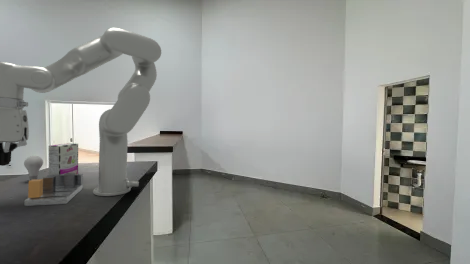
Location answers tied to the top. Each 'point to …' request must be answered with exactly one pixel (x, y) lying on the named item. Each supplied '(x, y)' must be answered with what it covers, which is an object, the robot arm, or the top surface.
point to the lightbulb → (33, 166)
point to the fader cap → (35, 188)
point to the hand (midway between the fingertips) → (3, 164)
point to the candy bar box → (63, 158)
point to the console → (58, 189)
